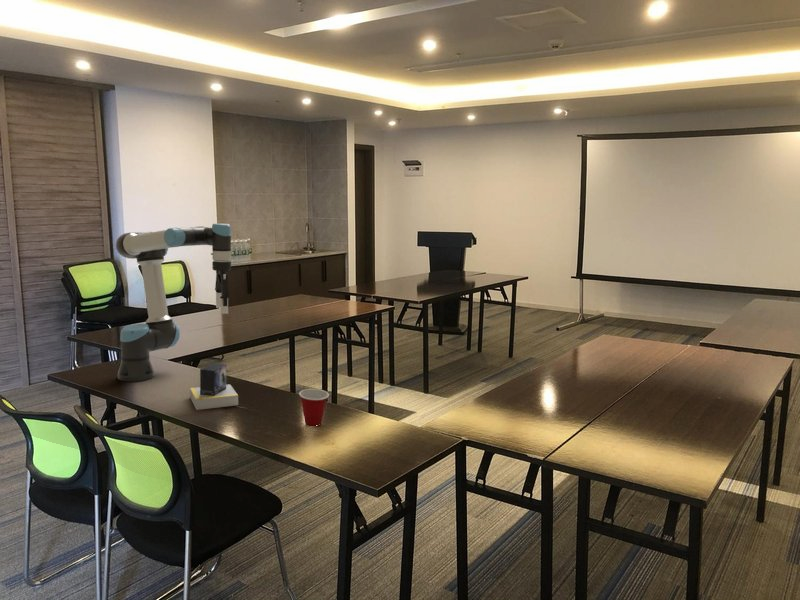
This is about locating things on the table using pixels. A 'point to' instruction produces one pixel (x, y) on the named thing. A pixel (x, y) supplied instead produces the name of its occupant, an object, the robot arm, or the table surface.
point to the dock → (214, 398)
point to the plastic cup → (313, 405)
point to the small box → (212, 379)
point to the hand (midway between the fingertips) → (222, 310)
